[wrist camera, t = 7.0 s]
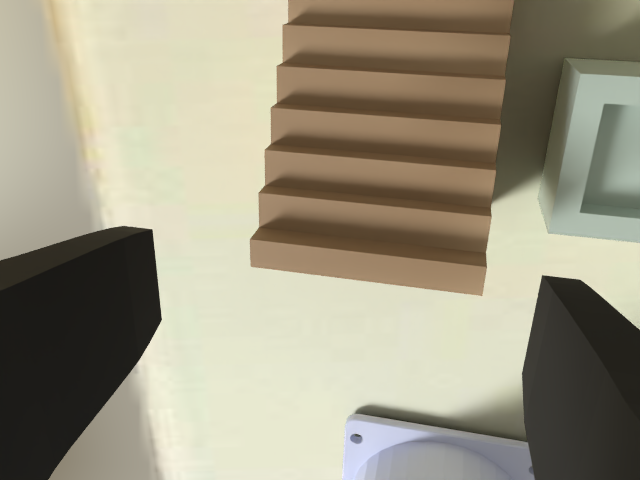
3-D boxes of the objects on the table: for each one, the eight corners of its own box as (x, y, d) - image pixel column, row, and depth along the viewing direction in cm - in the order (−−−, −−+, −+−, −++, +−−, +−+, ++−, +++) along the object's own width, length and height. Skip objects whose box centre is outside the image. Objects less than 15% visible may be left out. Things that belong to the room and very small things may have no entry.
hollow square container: (686, 212, 19) (720, 251, 16) (537, 198, 19) (548, 233, 17) (730, 66, 17) (776, 84, 14) (564, 57, 18) (580, 73, 15)
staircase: (478, 210, 20) (481, 295, 15) (303, 192, 21) (250, 266, 16) (515, -50, 17) (537, -56, 12) (306, -55, 18) (241, -62, 13)
